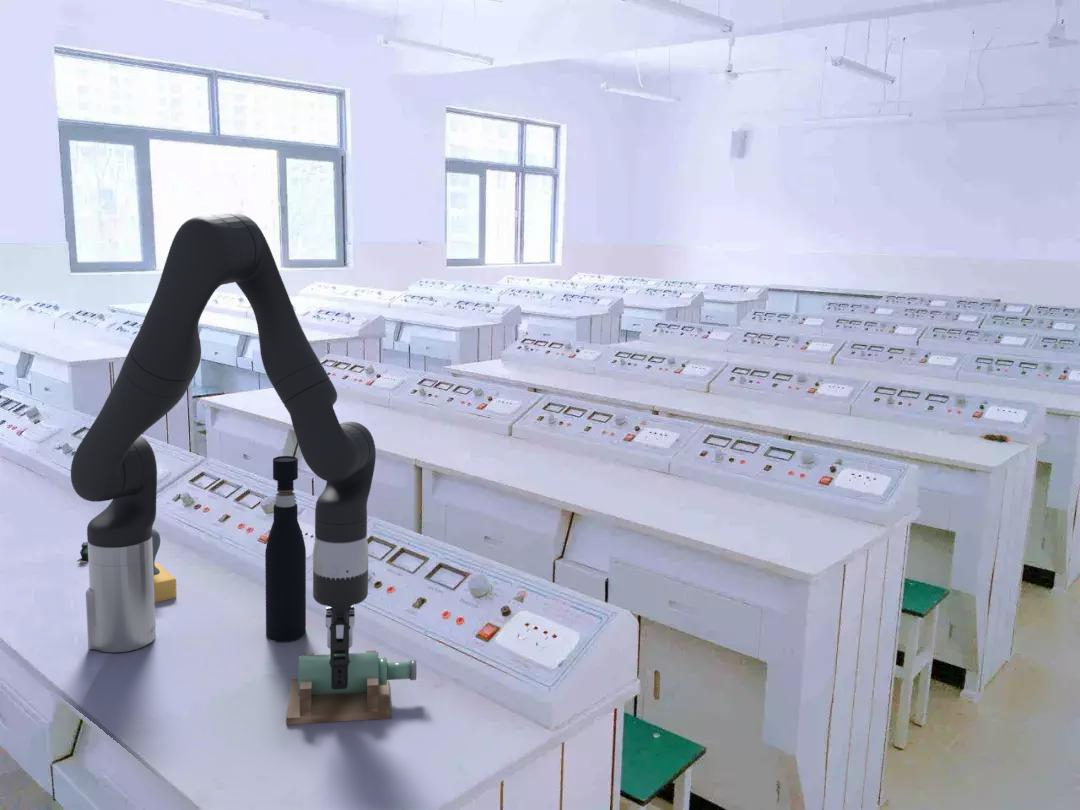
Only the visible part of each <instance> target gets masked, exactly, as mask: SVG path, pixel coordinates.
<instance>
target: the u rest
mask: <svg viewBox="0 0 1080 810" xmlns="http://www.w3.org/2000/svg"><path fill="white" fill-rule="evenodd" d="M368 652H377V649H376V650H366V651H365V653H368ZM303 655H315V653H314V652H312V653H311V652H310V653H303ZM389 685H390V684H389V680H387V685H380V686H378V678H368V679H367V692H366V693H347V694H329V695H312V681H311V682H301V683H300V696H298V677H297V678H291V683H290V688H289V696H288V705H287V711H286V718H285V719H286V721H285V722H286V725H290V726H291V725H303V724H304V725H305V724H321V723H334V722H336V723H337V722H350V721H351V722H352V721H367V720H383V719H384V720H385V719H391V718H392V717H391V716H392V715H391V714H392V713H391V711H392V710H391V699H390V687H389Z"/></svg>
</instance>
